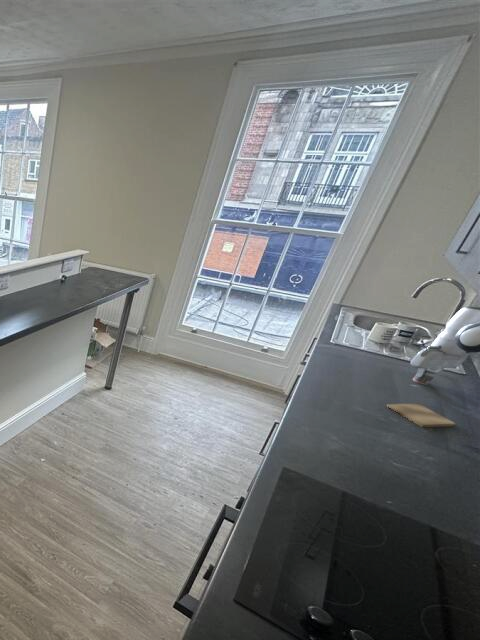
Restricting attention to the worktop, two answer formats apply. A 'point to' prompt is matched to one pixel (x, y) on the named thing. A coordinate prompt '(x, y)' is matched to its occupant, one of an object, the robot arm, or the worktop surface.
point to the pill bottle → (427, 376)
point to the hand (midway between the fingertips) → (424, 376)
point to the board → (421, 415)
